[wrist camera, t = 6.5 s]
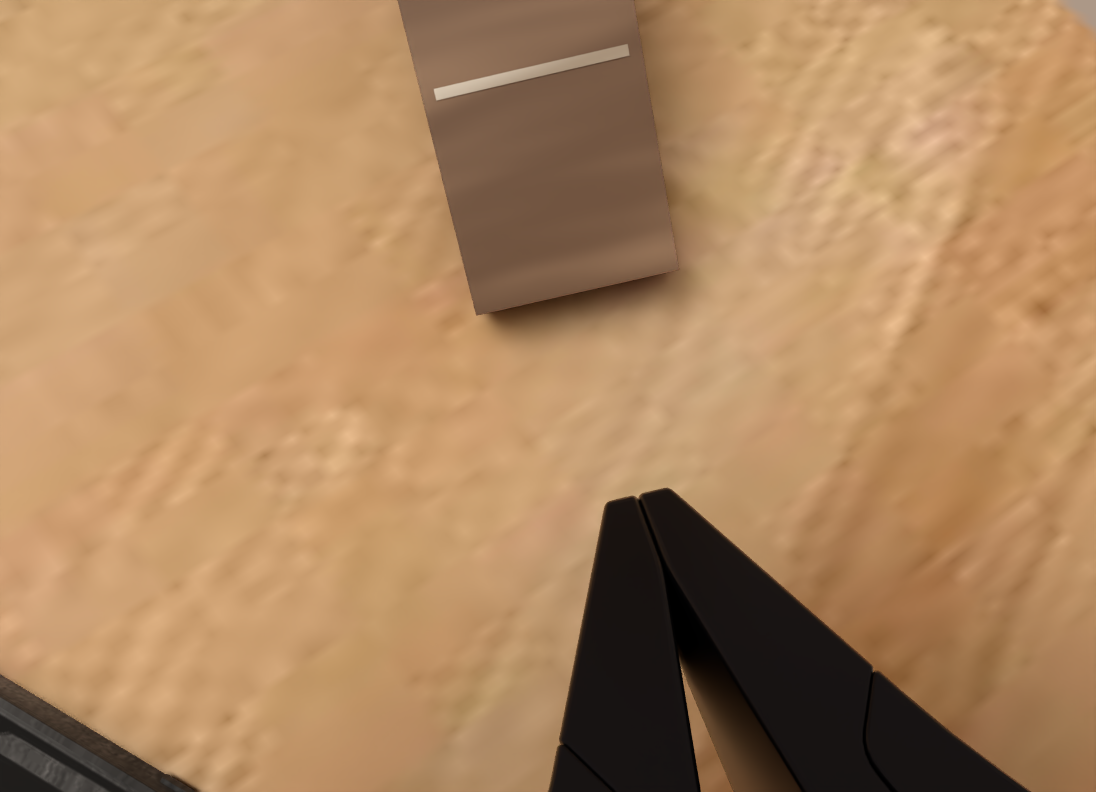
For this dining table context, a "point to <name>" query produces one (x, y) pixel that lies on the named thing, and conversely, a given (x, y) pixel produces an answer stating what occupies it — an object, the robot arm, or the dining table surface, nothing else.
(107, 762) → the phone
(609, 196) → the domino
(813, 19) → the dining table surface
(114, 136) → the dining table surface
